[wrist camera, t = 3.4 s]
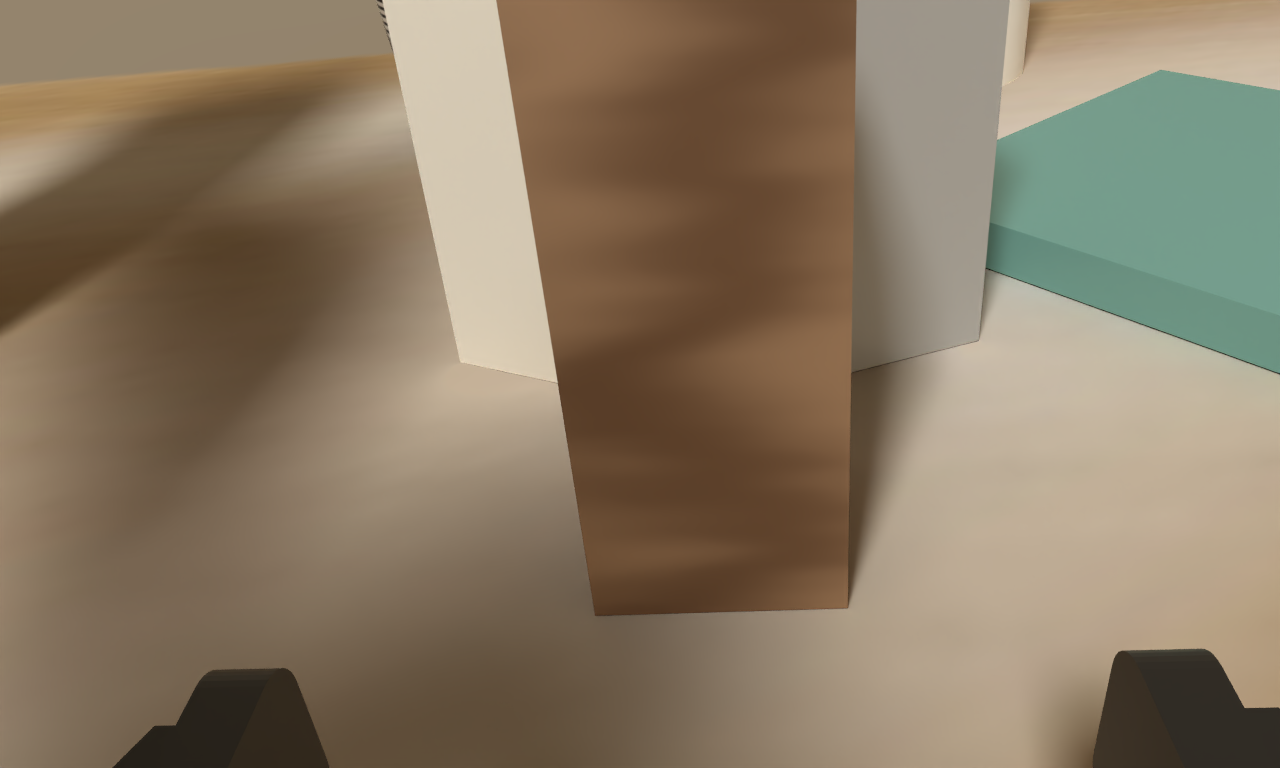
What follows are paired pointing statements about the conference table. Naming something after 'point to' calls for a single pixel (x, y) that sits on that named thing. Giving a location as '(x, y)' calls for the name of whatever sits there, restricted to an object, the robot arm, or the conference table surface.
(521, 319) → the off-white brick
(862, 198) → the grey brick
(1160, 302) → the teal board
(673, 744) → the conference table surface
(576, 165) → the walnut brick
